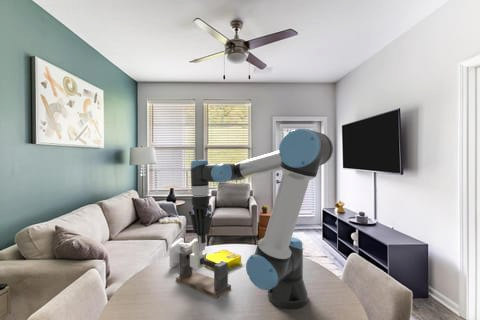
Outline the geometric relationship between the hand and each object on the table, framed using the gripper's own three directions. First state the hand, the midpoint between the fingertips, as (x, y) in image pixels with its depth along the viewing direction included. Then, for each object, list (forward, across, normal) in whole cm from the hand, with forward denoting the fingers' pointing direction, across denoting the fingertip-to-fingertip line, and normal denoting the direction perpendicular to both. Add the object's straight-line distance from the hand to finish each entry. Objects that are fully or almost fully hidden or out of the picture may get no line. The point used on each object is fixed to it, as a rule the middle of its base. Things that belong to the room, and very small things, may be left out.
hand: (201, 250), depth 105 cm
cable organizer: (+14, +23, -10) cm, 29 cm away
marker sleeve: (+7, +2, 0) cm, 7 cm away
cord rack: (+15, 0, 0) cm, 15 cm away
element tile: (+15, +7, -22) cm, 27 cm away
